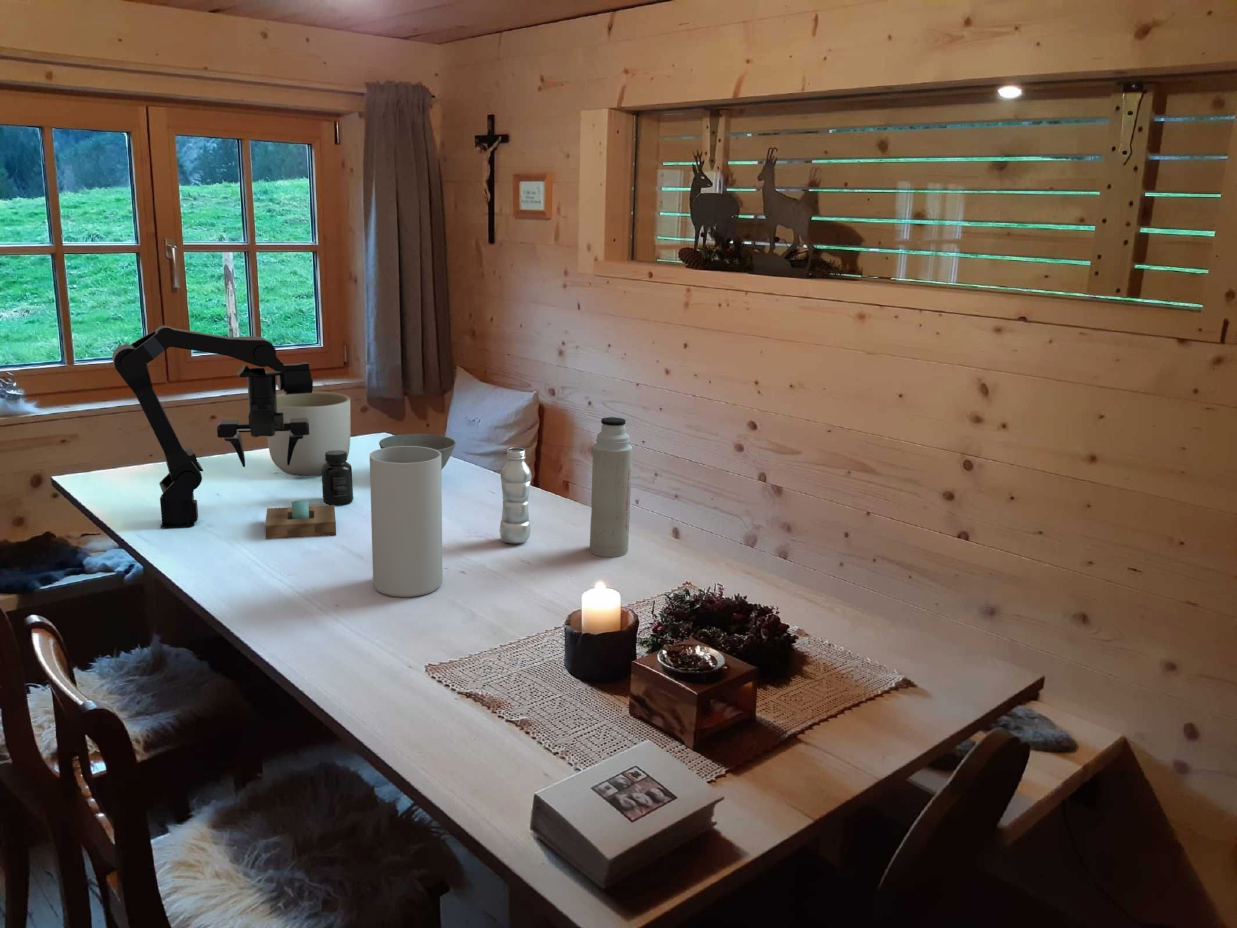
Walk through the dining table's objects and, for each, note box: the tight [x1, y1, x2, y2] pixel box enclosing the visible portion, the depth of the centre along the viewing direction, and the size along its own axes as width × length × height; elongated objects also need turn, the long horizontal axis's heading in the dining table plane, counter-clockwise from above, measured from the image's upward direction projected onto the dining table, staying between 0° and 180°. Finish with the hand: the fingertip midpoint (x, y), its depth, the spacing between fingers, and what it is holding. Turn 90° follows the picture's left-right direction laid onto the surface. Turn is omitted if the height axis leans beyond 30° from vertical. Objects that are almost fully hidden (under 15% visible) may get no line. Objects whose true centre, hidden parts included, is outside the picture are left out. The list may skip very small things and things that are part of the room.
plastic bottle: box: [499, 447, 532, 544], centre depth 202 cm, size 6×7×20 cm
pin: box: [291, 499, 309, 519], centre depth 207 cm, size 3×3×5 cm
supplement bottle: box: [321, 450, 354, 507], centre depth 225 cm, size 7×7×12 cm
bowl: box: [378, 433, 457, 470], centre depth 246 cm, size 19×19×10 cm
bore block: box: [264, 504, 337, 540], centre depth 208 cm, size 14×12×3 cm
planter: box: [266, 390, 351, 477], centre depth 249 cm, size 21×21×19 cm
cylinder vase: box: [369, 446, 443, 598], centre depth 176 cm, size 12×12×25 cm
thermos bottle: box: [589, 416, 633, 558], centre depth 198 cm, size 8×8×28 cm
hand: (266, 465), depth 214 cm, fingers open, 9 cm apart
